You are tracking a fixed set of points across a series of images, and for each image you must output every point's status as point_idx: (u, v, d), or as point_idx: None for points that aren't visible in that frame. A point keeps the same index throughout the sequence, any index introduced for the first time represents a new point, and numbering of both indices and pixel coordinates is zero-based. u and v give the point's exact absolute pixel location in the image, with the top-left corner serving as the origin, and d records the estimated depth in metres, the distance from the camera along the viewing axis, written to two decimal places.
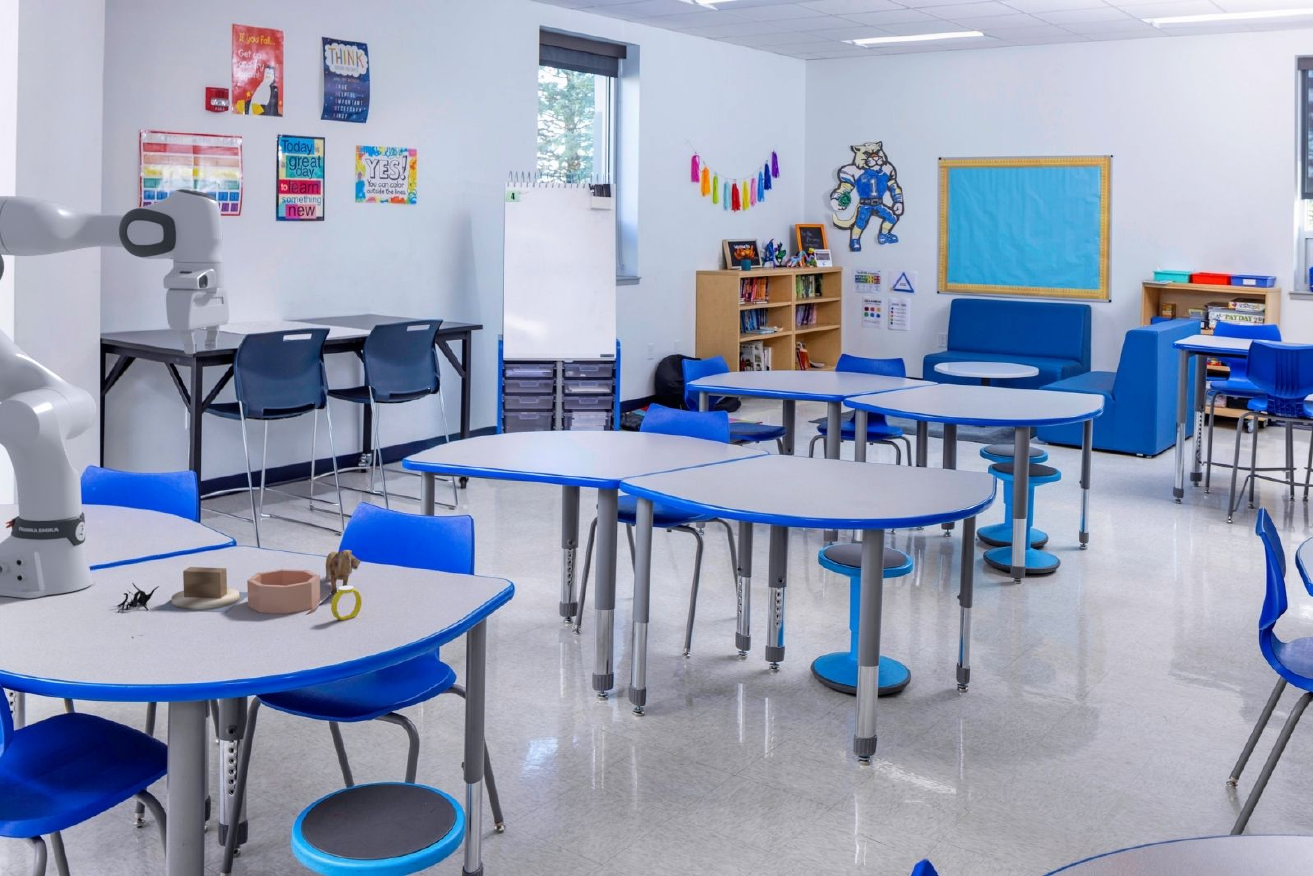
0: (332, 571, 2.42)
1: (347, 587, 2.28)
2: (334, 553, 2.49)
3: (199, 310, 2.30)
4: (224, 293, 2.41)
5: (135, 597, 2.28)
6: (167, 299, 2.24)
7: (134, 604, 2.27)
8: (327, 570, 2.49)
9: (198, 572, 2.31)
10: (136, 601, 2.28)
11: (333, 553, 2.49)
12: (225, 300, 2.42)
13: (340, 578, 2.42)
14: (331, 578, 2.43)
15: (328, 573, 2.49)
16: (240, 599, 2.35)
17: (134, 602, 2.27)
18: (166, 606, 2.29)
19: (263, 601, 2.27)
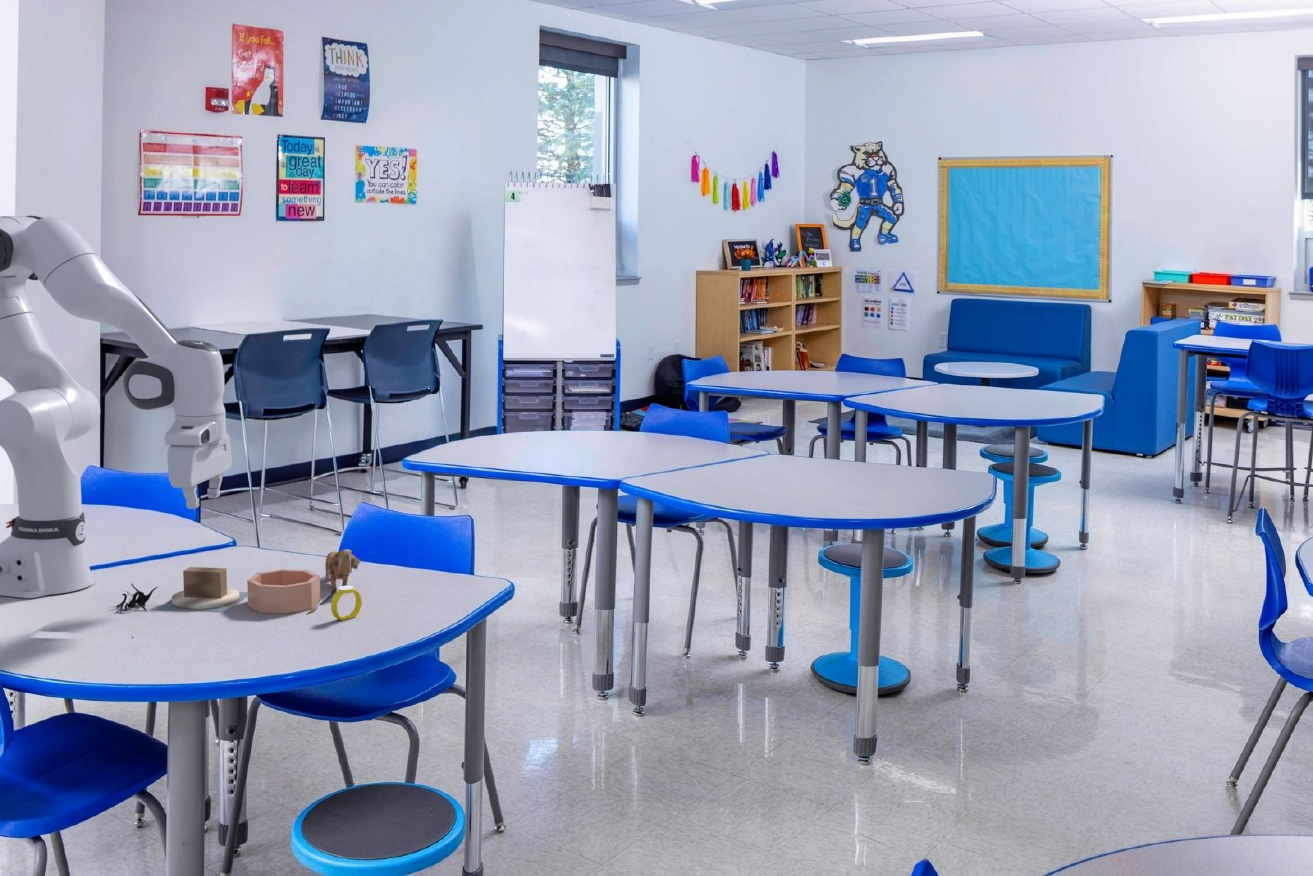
0: (332, 571, 2.42)
1: (347, 587, 2.28)
2: (334, 553, 2.49)
3: (202, 464, 2.25)
4: (227, 439, 2.36)
5: (134, 598, 2.27)
6: (168, 457, 2.20)
7: (132, 605, 2.27)
8: (327, 570, 2.49)
9: (198, 572, 2.31)
10: (135, 602, 2.27)
11: (333, 553, 2.49)
12: (228, 446, 2.37)
13: (340, 578, 2.43)
14: (331, 578, 2.44)
15: (328, 573, 2.50)
16: (240, 599, 2.35)
17: (132, 603, 2.27)
18: (166, 606, 2.29)
19: (263, 601, 2.27)
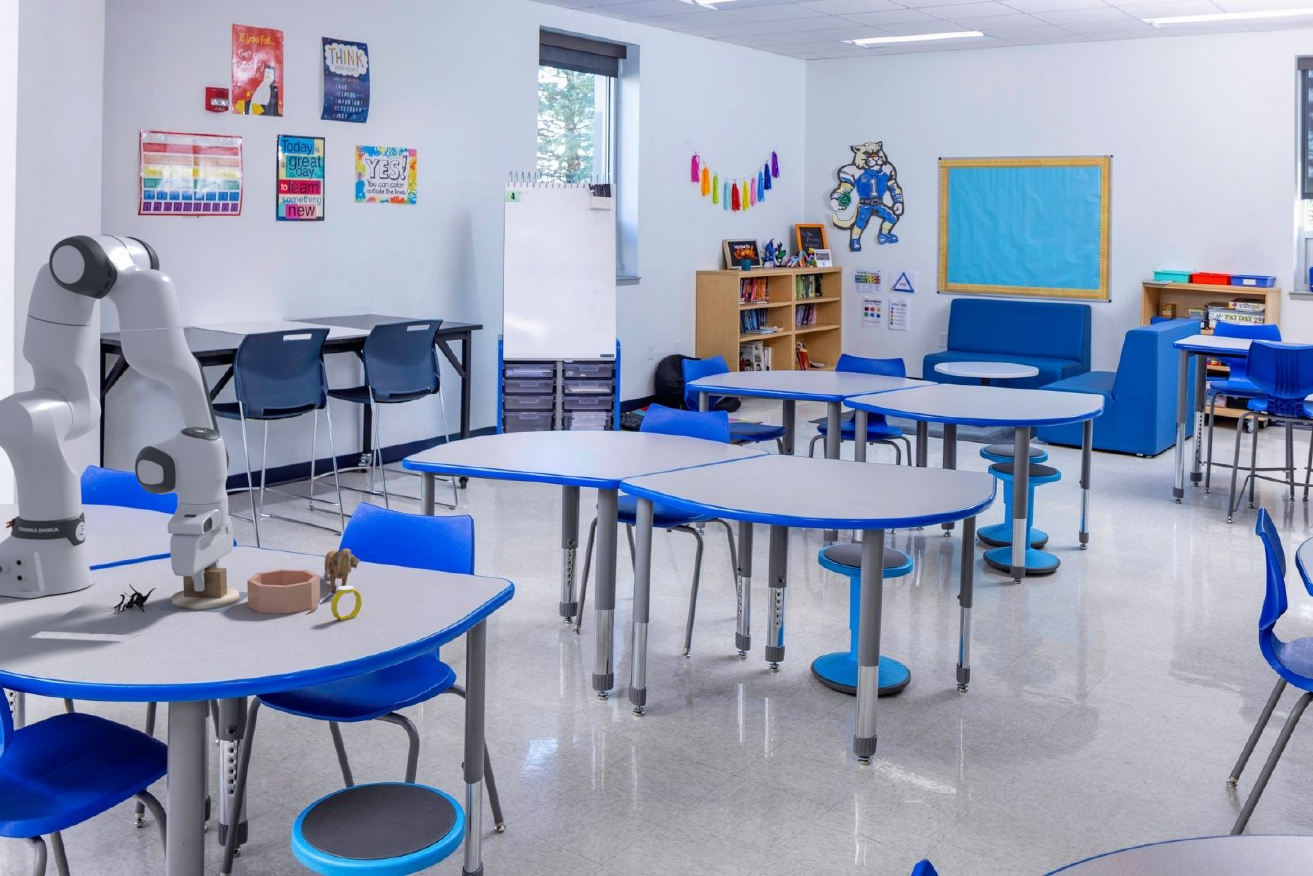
0: (331, 570, 2.43)
1: (347, 587, 2.28)
2: (333, 552, 2.49)
3: (204, 551, 2.28)
4: (229, 522, 2.39)
5: (132, 598, 2.27)
6: (171, 546, 2.22)
7: (130, 606, 2.26)
8: (326, 569, 2.50)
9: None
10: (132, 603, 2.27)
11: (332, 552, 2.49)
12: (230, 529, 2.39)
13: (339, 577, 2.43)
14: (330, 577, 2.44)
15: (327, 572, 2.50)
16: (240, 599, 2.35)
17: (130, 604, 2.26)
18: (166, 606, 2.29)
19: (263, 601, 2.27)
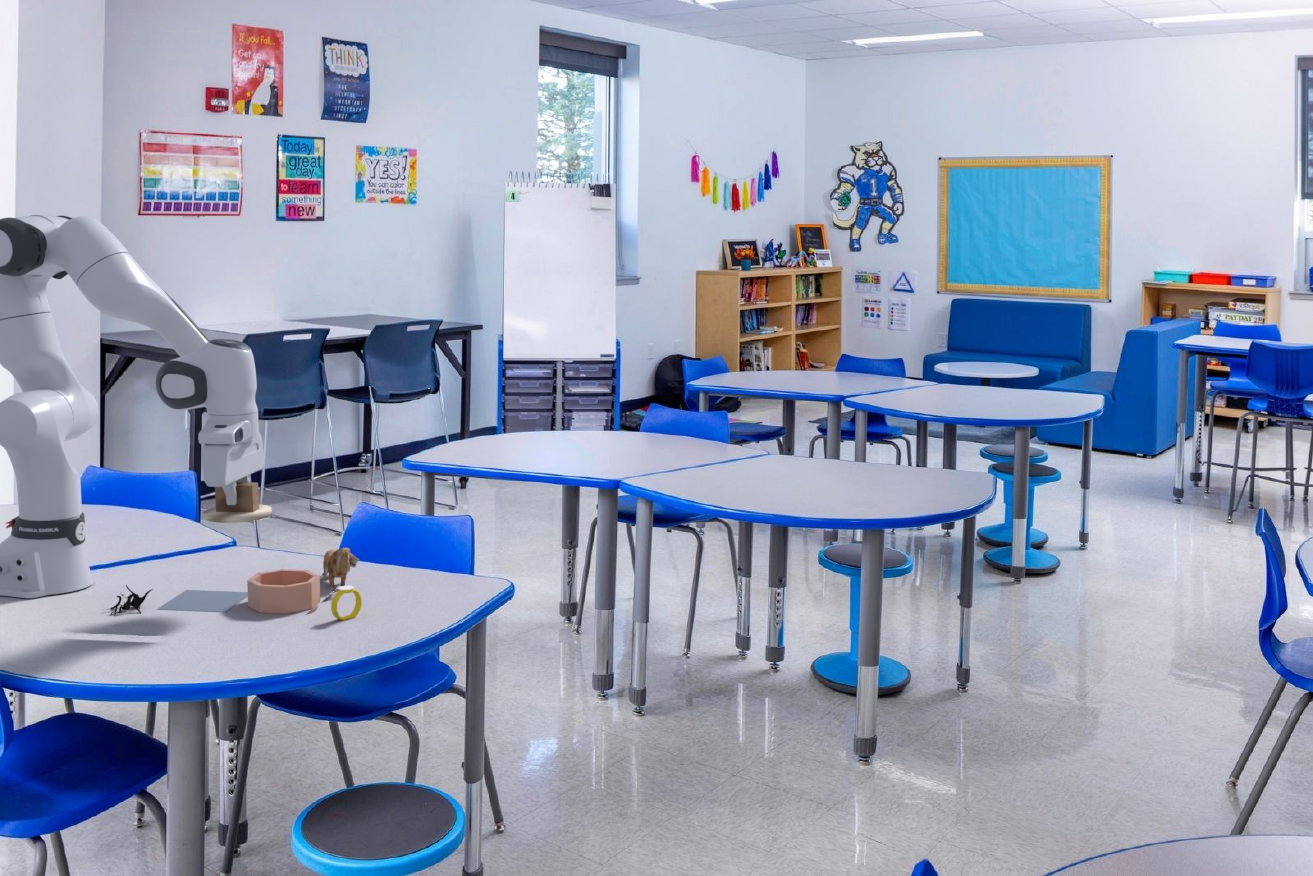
0: (330, 569, 2.44)
1: (347, 587, 2.28)
2: (332, 551, 2.50)
3: (235, 463, 2.24)
4: (259, 438, 2.36)
5: (128, 600, 2.26)
6: (203, 456, 2.19)
7: (127, 607, 2.25)
8: (325, 568, 2.50)
9: None
10: (129, 604, 2.26)
11: (331, 551, 2.50)
12: (260, 445, 2.36)
13: (338, 576, 2.44)
14: (329, 576, 2.45)
15: (326, 571, 2.51)
16: (240, 599, 2.35)
17: (127, 605, 2.26)
18: (166, 606, 2.29)
19: (263, 601, 2.27)
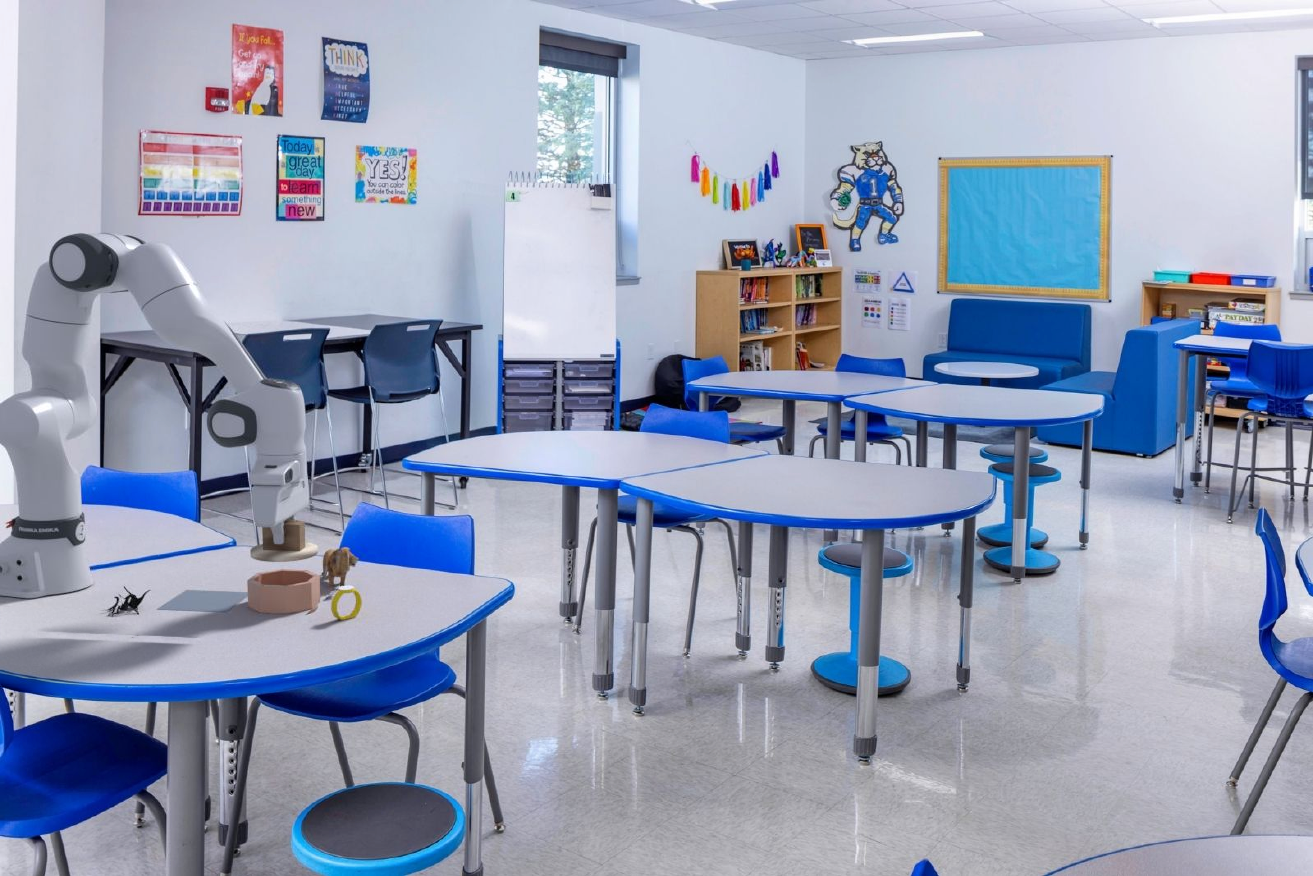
0: (330, 568, 2.44)
1: (347, 587, 2.28)
2: (331, 551, 2.50)
3: (284, 503, 2.25)
4: (305, 476, 2.37)
5: (126, 601, 2.25)
6: (253, 496, 2.20)
7: (125, 608, 2.25)
8: (324, 568, 2.51)
9: None
10: (127, 605, 2.25)
11: (330, 551, 2.50)
12: (306, 483, 2.37)
13: (338, 575, 2.44)
14: (329, 575, 2.45)
15: (325, 570, 2.51)
16: (240, 599, 2.35)
17: (125, 606, 2.25)
18: (166, 606, 2.29)
19: (263, 601, 2.27)
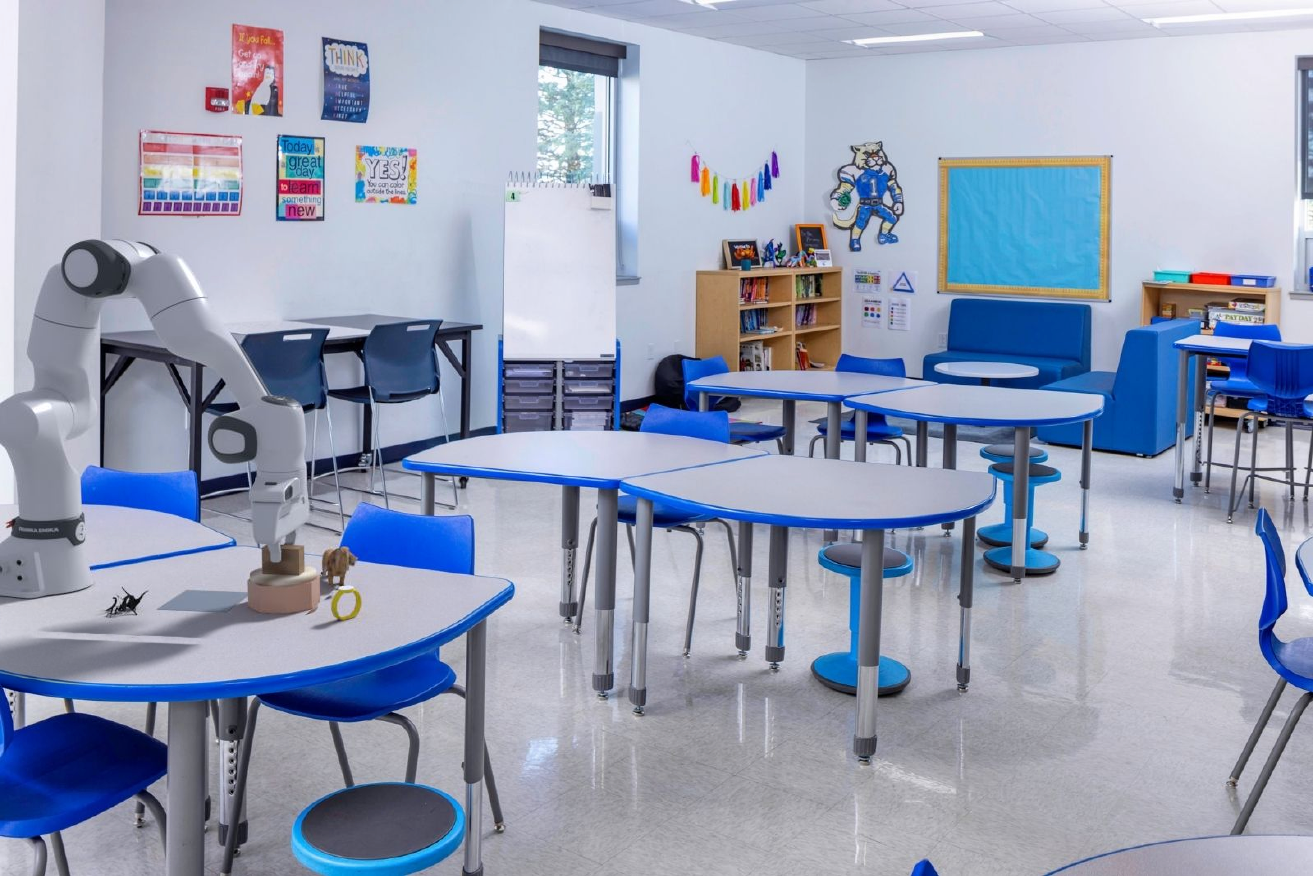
0: (329, 568, 2.44)
1: (347, 587, 2.28)
2: (330, 550, 2.51)
3: (284, 520, 2.26)
4: None
5: (124, 601, 2.25)
6: (253, 513, 2.21)
7: (123, 608, 2.24)
8: (323, 567, 2.51)
9: None
10: (125, 605, 2.25)
11: (329, 550, 2.51)
12: (306, 499, 2.38)
13: (337, 575, 2.45)
14: (328, 575, 2.46)
15: (324, 570, 2.52)
16: (240, 599, 2.35)
17: (123, 606, 2.25)
18: (166, 606, 2.29)
19: (263, 601, 2.27)
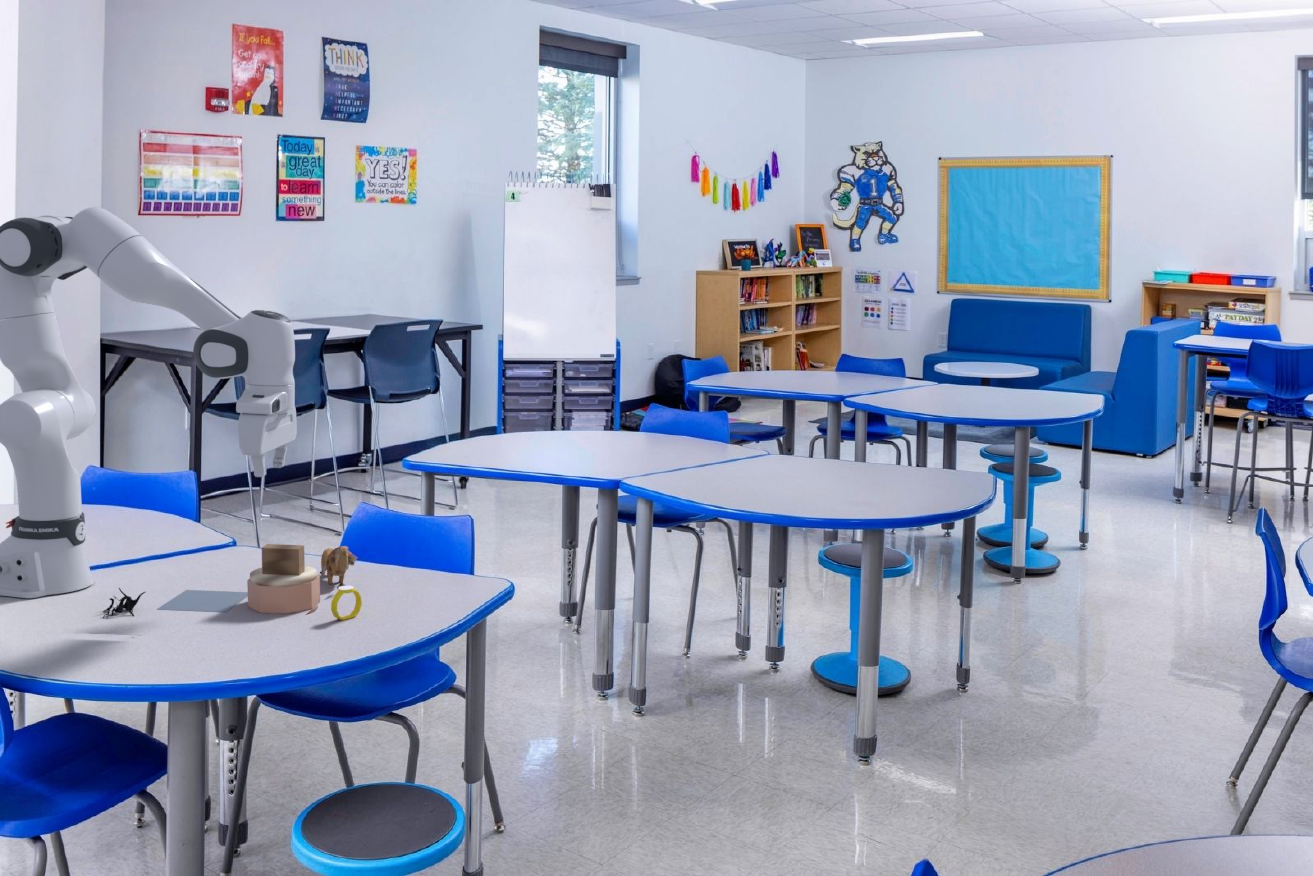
0: (329, 567, 2.45)
1: (347, 587, 2.28)
2: (329, 549, 2.51)
3: (271, 433, 2.28)
4: (293, 410, 2.39)
5: (121, 602, 2.24)
6: (240, 424, 2.22)
7: (120, 610, 2.24)
8: (322, 566, 2.52)
9: (277, 549, 2.30)
10: (122, 606, 2.24)
11: (328, 549, 2.51)
12: (294, 417, 2.39)
13: (337, 574, 2.45)
14: (328, 574, 2.46)
15: (323, 569, 2.52)
16: (240, 599, 2.35)
17: (120, 608, 2.24)
18: (166, 606, 2.29)
19: (263, 601, 2.27)
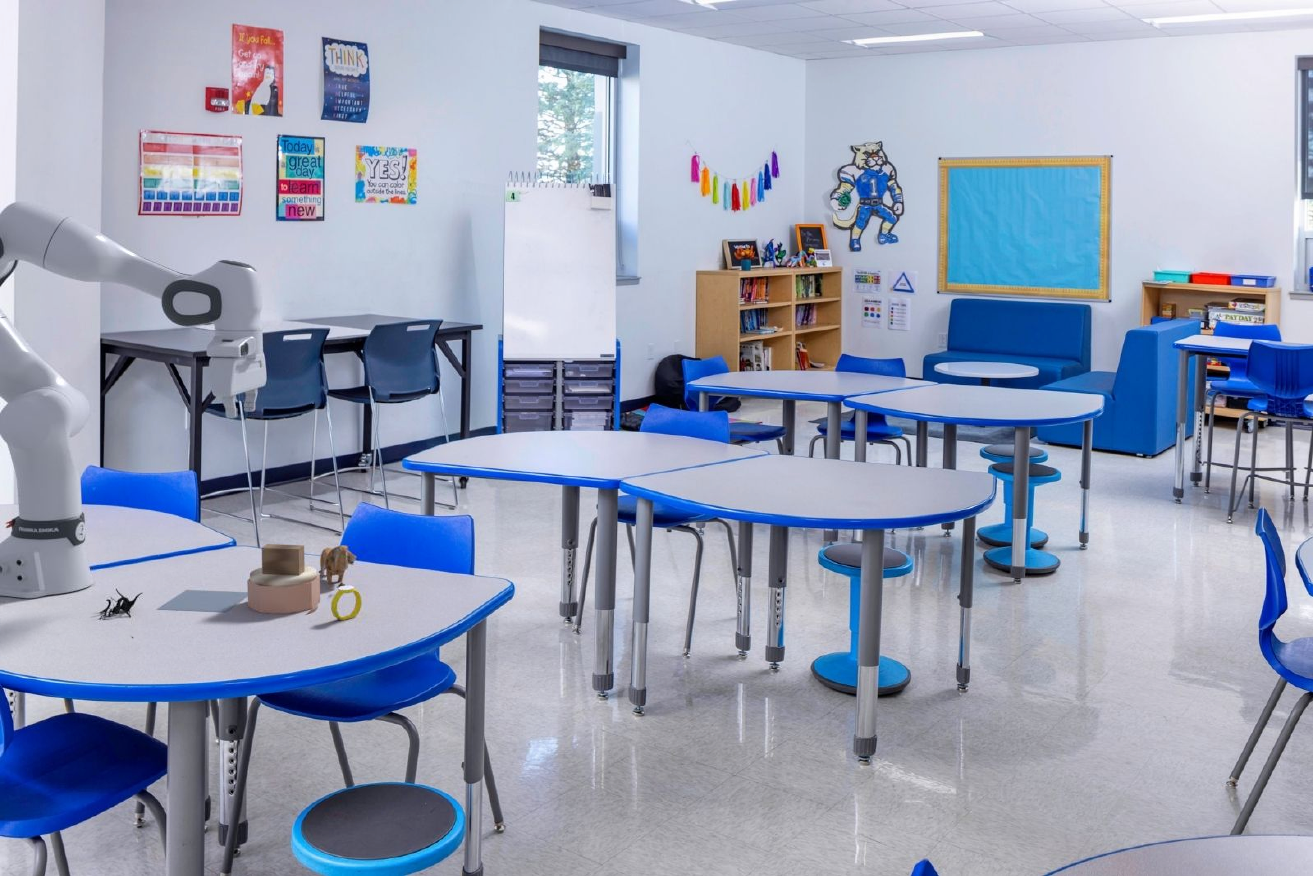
0: (328, 566, 2.45)
1: (347, 587, 2.28)
2: (329, 549, 2.52)
3: (240, 376, 2.40)
4: (262, 356, 2.51)
5: (118, 603, 2.24)
6: (210, 367, 2.34)
7: (117, 611, 2.23)
8: (322, 566, 2.52)
9: (277, 549, 2.30)
10: (119, 608, 2.23)
11: (328, 549, 2.52)
12: (263, 363, 2.51)
13: (336, 573, 2.46)
14: (327, 573, 2.47)
15: (322, 569, 2.53)
16: (240, 599, 2.35)
17: (117, 609, 2.23)
18: (166, 606, 2.29)
19: (263, 601, 2.27)
